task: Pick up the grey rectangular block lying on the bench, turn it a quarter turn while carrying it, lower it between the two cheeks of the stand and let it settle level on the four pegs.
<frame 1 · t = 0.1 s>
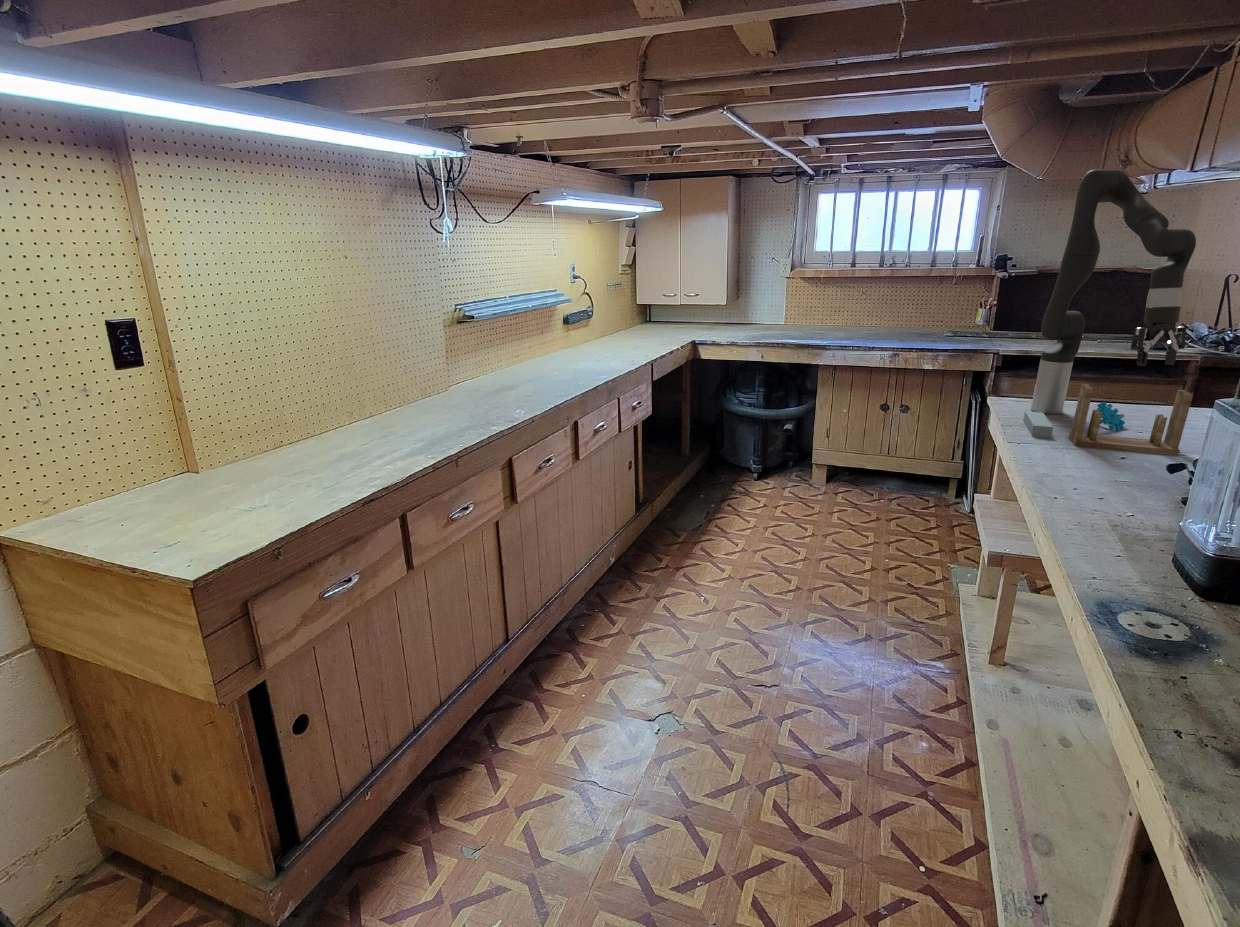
hand: (1155, 365, 186), 22 cm above the table, tool pointing down, fingers open, 8 cm apart
gear: (1108, 428, 207), on the table
grey rectangular block: (1036, 430, 206), on the table
stand: (1121, 446, 189), on the table
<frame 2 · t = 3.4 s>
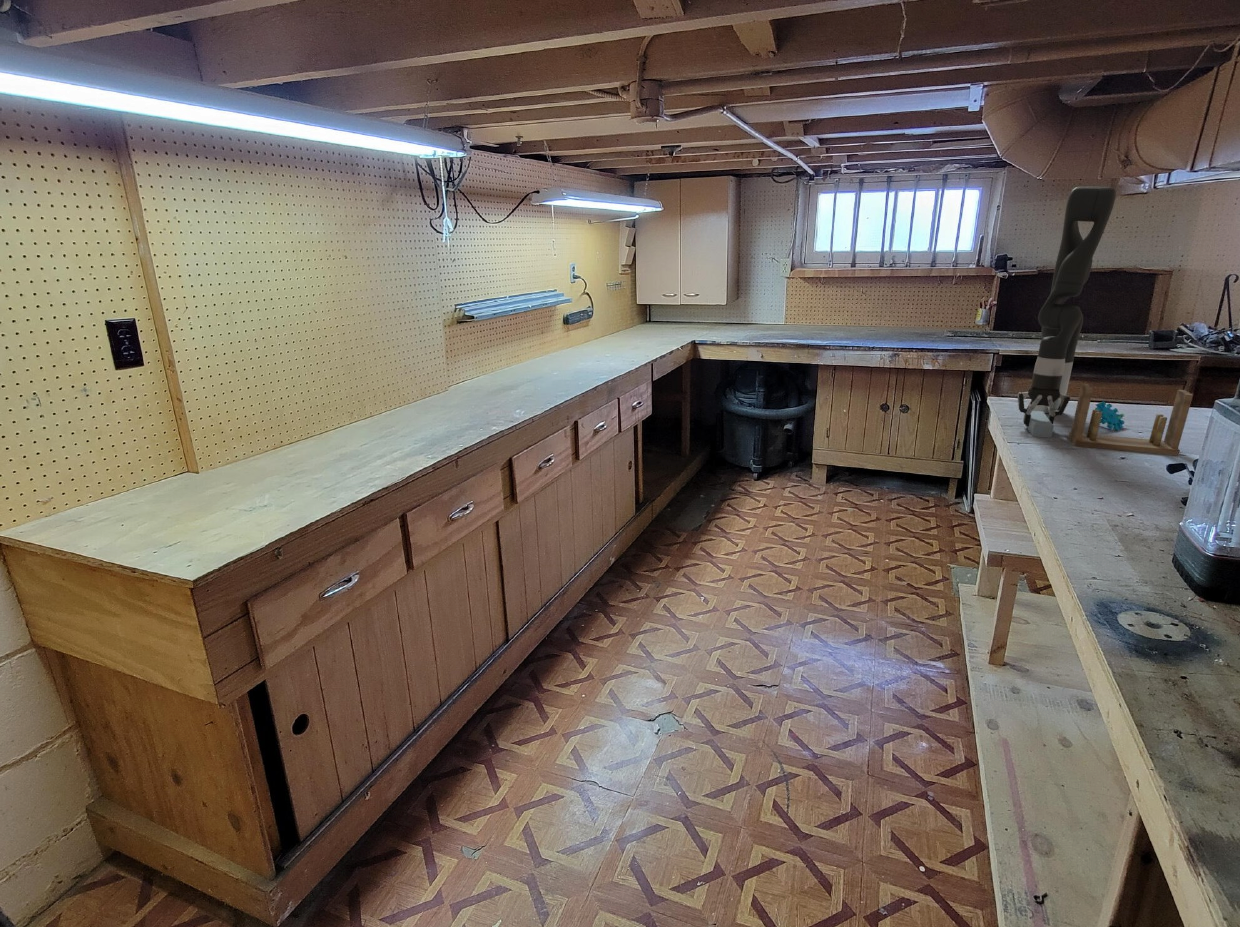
hand: (1037, 426, 206), 1 cm above the table, tool pointing down, fingers closed on grey rectangular block, 5 cm apart
grey rectangular block: (1036, 429, 206), on the table, touching gripper
everything else where it was.
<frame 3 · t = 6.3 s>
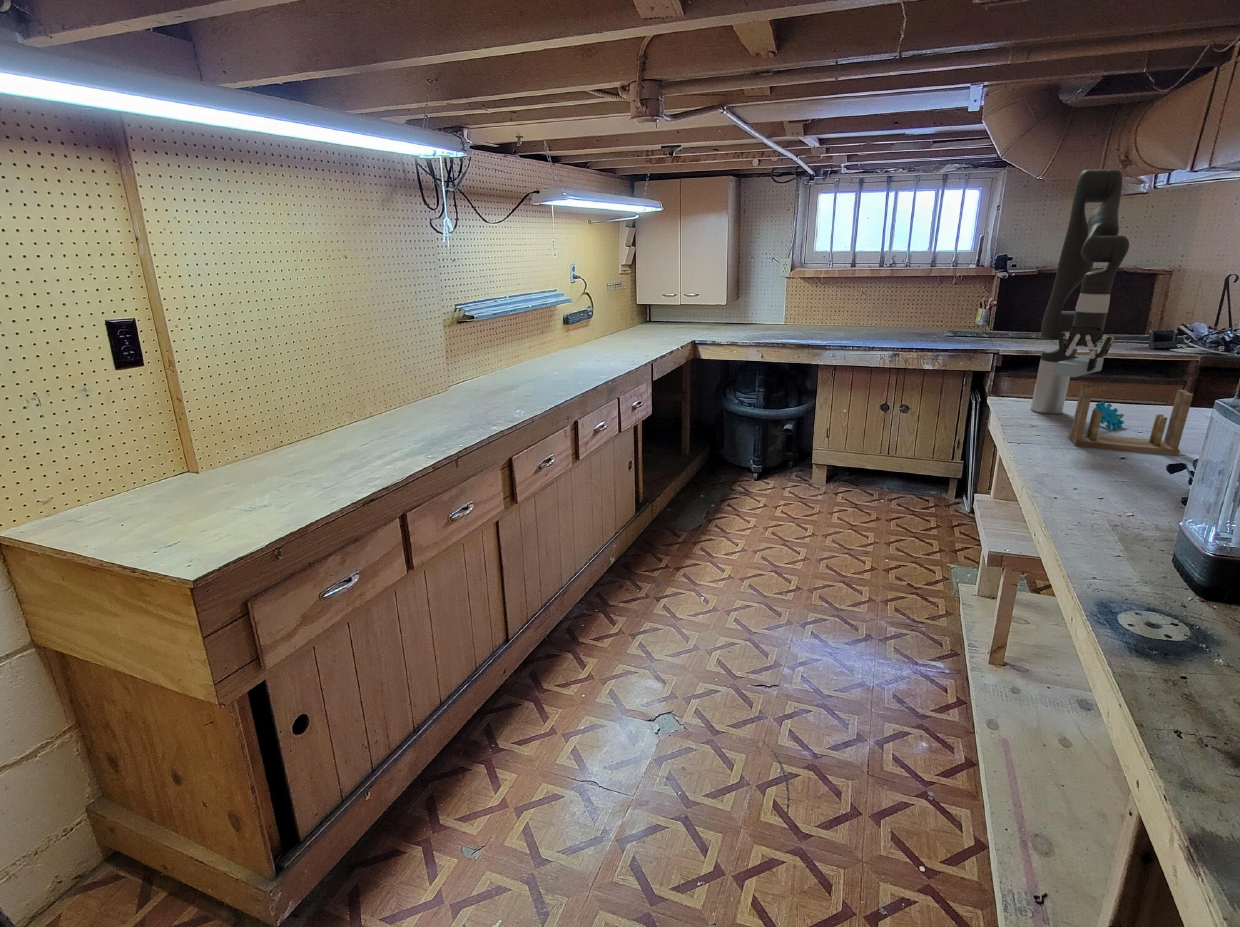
hand: (1078, 369, 193), 20 cm above the table, tool pointing down, fingers closed on grey rectangular block, 5 cm apart
grey rectangular block: (1078, 372, 194), point 19 cm above the table, touching gripper
everything else where it was.
when the fingers open (11 cm above the table, at t = 9.5 s): grey rectangular block drops 1 cm, resting on stand.
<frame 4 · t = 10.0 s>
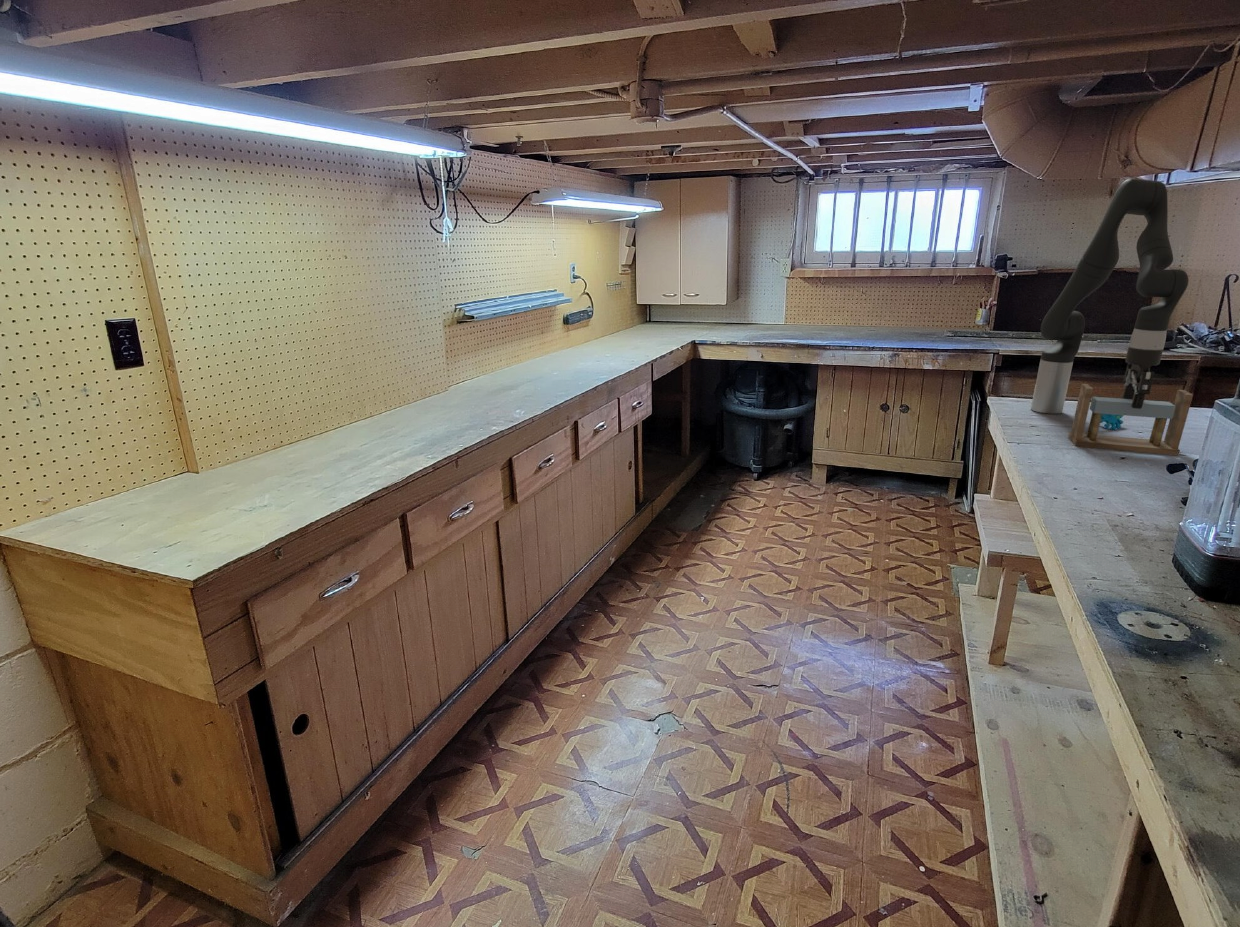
hand: (1131, 404, 185), 12 cm above the table, tool pointing down, fingers open, 8 cm apart
grey rectangular block: (1129, 413, 186), point 9 cm above the table, touching stand
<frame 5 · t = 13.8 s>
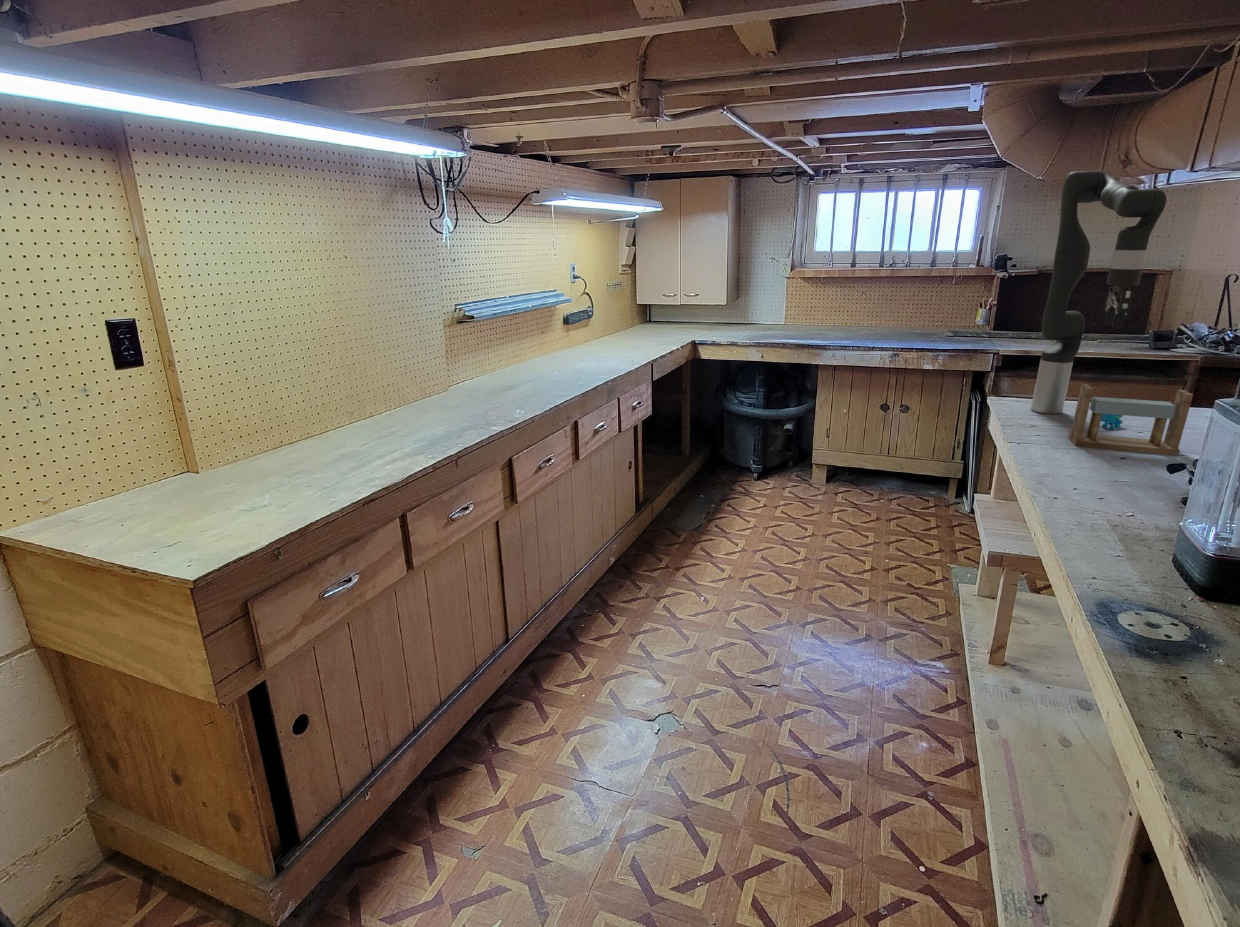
hand: (1112, 326, 189), 32 cm above the table, tool pointing down, fingers open, 8 cm apart
at the end: grey rectangular block 0.1 cm off-centre on the stand, point 9.5 cm above the stand's base; grey rectangular block tilted 0°; the gripper is holding nothing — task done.
